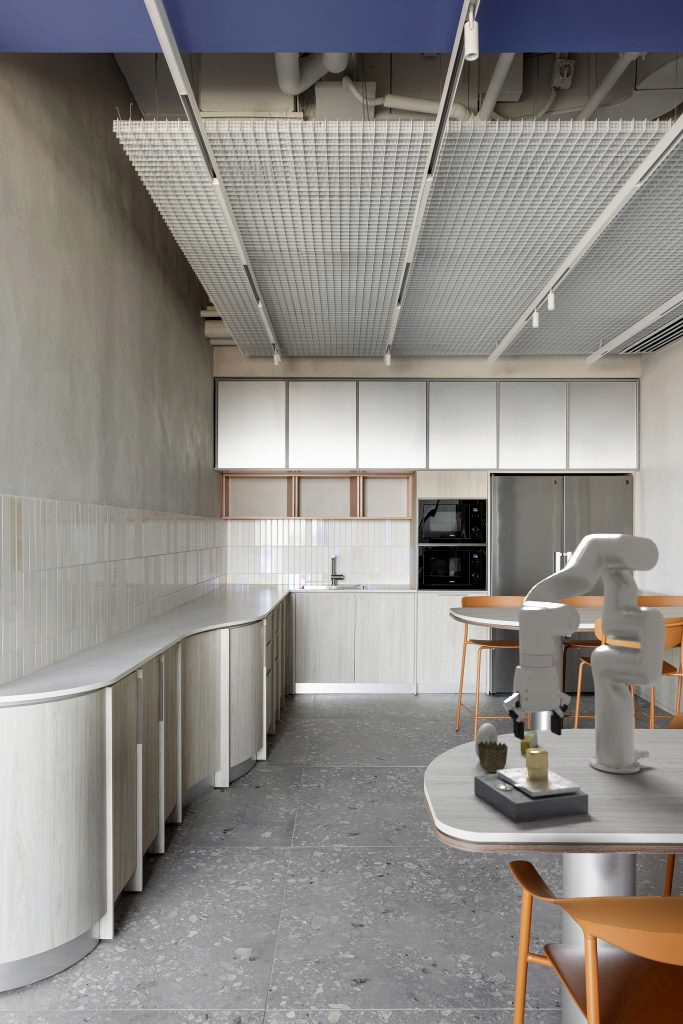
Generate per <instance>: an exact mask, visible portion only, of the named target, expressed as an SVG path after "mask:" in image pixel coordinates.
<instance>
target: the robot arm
mask: <svg viewBox="0 0 683 1024" xmlns="http://www.w3.org/2000/svg"><path fill="white" fill-rule="evenodd" d="M659 553H660V552H659V549H658V546H657V545H656V543H655V541H653V540H652V539H650V538H647V537H641V536H636V535H631V534H624V533H623V534H622V533H593V534H587V535H586V536H584V537H583V538H582V539H581V540H580V542H579V543H578V545H577V547H575V549H574V551H573V552H572V553H571V556H570V557H569V559H568V560H567V562H566V564H565V565H564V567H563V568H562V569H561V570H559V571H556V572H555V573H553V574H552V575H549V576H547V578H544V579H542V580H541V581H539V582H538V583H536V584H535V585H534V586H533V587H532V588H531V589H530V590H529V592H528V593H527V594H526V596H525V598H524V599H523V601H522V602H521V605H520V607H519V610H518V612H517V622H518V641H519V645H518V648H519V653H518V655H519V665H517V666H516V667H515V671H514V676H513V688H512V695H511V696H509V697H508V698H506V699H505V700H503V701H502V706H503V708H504V710H505V712H506V714H507V715H508V716H509V718H510V719H511V720H512V722H513V723H512V727H513V730H512V731H513V732H512V733H513V736H514V738H517V739H519V740H520V741H521V740H524V736H525V722H524V721H523V719H524V718H525V716H526V715H527V714H529V713H530V714H531V713H532V714H533V713H540V712H541V713H543V712H551V714H550V732H551V733H552V734H554V735H557V736H562V729H563V725H562V724H563V723H562V722H563V721H562V719H563V718H564V716H565V713H566V711H567V710H568V708H569V704H570V703H571V700H572V697H571V696H570V695H568V694H566V693H565V692H563V691H561V690H560V681H559V675H558V672H557V666H555V665H554V664H555V661H557V660H558V654H556V653H554V637H568V636H571V635H573V634H574V633H576V632H577V631H578V630H579V628H580V625H581V617H580V613H579V612H578V609H576V607H575V606H572V605H570V604H566V603H561V602H560V601H564V600H568V599H572V598H577V597H580V596H583V595H585V594H587V593H590V592H591V591H592V590H593V589H594V588H595V586H596V585H597V584H598V581H599V579H600V578H602V579H601V580H602V582H603V587H604V590H603V591H604V592H603V602H602V611H601V619H600V620H601V623H600V627H601V628H600V629H601V633H602V635H603V636H604V637H605V638H607V639H609V640H613V641H620V642H628V643H637V644H639V645H640V646H639V647H640V648H639V647H633V646H632V647H631V646H625V645H616V644H602V645H599V646H597V647H596V648H594V649H593V651H592V652H591V654H590V655H591V656H590V668H591V673H592V679H593V683H594V684H593V686H594V687H593V688H594V722H595V723H594V726H595V727H594V728H595V729H594V731H595V732H594V733H595V734H594V737H595V738H594V741H595V742H594V743H595V754H594V755H593V756H591V757H590V758H589V760H588V762H589V765H590V766H591V767H592V768H593V769H596V770H600V771H603V772H607V773H612V774H624V775H625V774H635V773H638V772H639V771H641V766H642V765H641V763H640V762H639V760H640V759H646V758H650V752H649V750H647V749H644V750H643V749H642V750H639V749H638V748H635V724H634V723H635V722H634V721H635V719H634V718H635V717H634V715H635V713H634V712H635V711H634V697H633V696H632V693H631V691H630V689H629V687H628V686H627V685H630V686H631V685H632V686H637V687H645V688H653V687H655V686H656V685H658V684H659V682H660V681H661V676H662V674H663V673H662V672H663V663H664V653H665V642H666V622H665V618H664V615H663V614H662V613H661V611H660V610H658V608H655V607H650V606H639V605H638V597H639V587H638V585H637V582H636V580H635V579H634V577H633V575H632V574H631V573H629V571H636V572H637V571H641V572H648V571H651V570H652V569H654V568H655V567H656V566H657V564H658V561H659ZM559 602H560V603H559ZM512 706H513V707H512ZM513 708H514V709H513Z"/></svg>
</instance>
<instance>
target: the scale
mask: <svg viewBox="0 0 683 1024" xmlns="http://www.w3.org/2000/svg"><path fill="white" fill-rule="evenodd" d="M473 778H474V779H473V781H474V783H473V785H474V787H473V788H474V789H473V791H474V793H475V795H476V796H477V797H478V798H480V799H481V798H482V799H481V800H483V801H484V802H485V803H487V804H488V805H490V806H491V807H493V808H494V809H496V810H497V811H498V812H500V813H501V814H502V815H504V816H505V817H507V819H510V820H511V821H512V822H514V823H515V824H519V823H526V822H534V821H540V820H541V821H543V820H548V819H554V818H555V819H557V818H564V817H571V816H578V815H586V814H589V794H587V793H585V792H584V791H582V790H580V791H577V792H569V793H560V794H552V795H544V796H536V797H532V796H530V795H529V794H527V793H525V792H524V791H522V790H520V789H519V788H517V787H516V786H514V785H512V784H511V783H509V782H508V781H506V780H504V779H503V778H501V777H500V776H498V775H497V774H490V775H486V774H482V775H474V777H473Z"/></svg>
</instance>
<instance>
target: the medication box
mask: <svg viewBox="0 0 683 1024" xmlns="http://www.w3.org/2000/svg"><path fill="white" fill-rule="evenodd" d="M538 744H539V743H538V731H537V730H527V732H525V733H524V740H520V754H521V755H522V756H526V750H527V749H530V748H537V746H538Z"/></svg>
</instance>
